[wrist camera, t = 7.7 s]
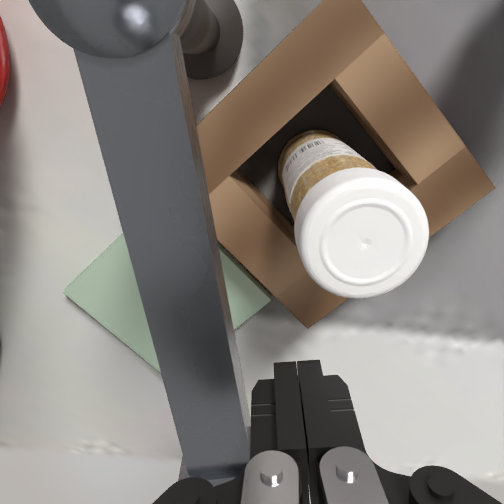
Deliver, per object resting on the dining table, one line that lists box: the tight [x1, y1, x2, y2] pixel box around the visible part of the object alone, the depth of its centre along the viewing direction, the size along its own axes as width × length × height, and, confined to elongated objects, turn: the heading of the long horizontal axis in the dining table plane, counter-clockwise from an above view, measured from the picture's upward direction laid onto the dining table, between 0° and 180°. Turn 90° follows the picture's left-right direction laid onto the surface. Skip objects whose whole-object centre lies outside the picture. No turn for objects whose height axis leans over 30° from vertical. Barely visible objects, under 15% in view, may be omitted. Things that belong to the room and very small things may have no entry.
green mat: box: [63, 234, 271, 373], centre depth 31 cm, size 10×10×1 cm
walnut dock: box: [180, 0, 495, 329], centre depth 20 cm, size 19×13×16 cm
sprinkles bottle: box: [278, 130, 429, 299], centre depth 21 cm, size 5×5×13 cm
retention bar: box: [29, 0, 251, 487], centre depth 12 cm, size 17×3×2 cm, turn 8°
